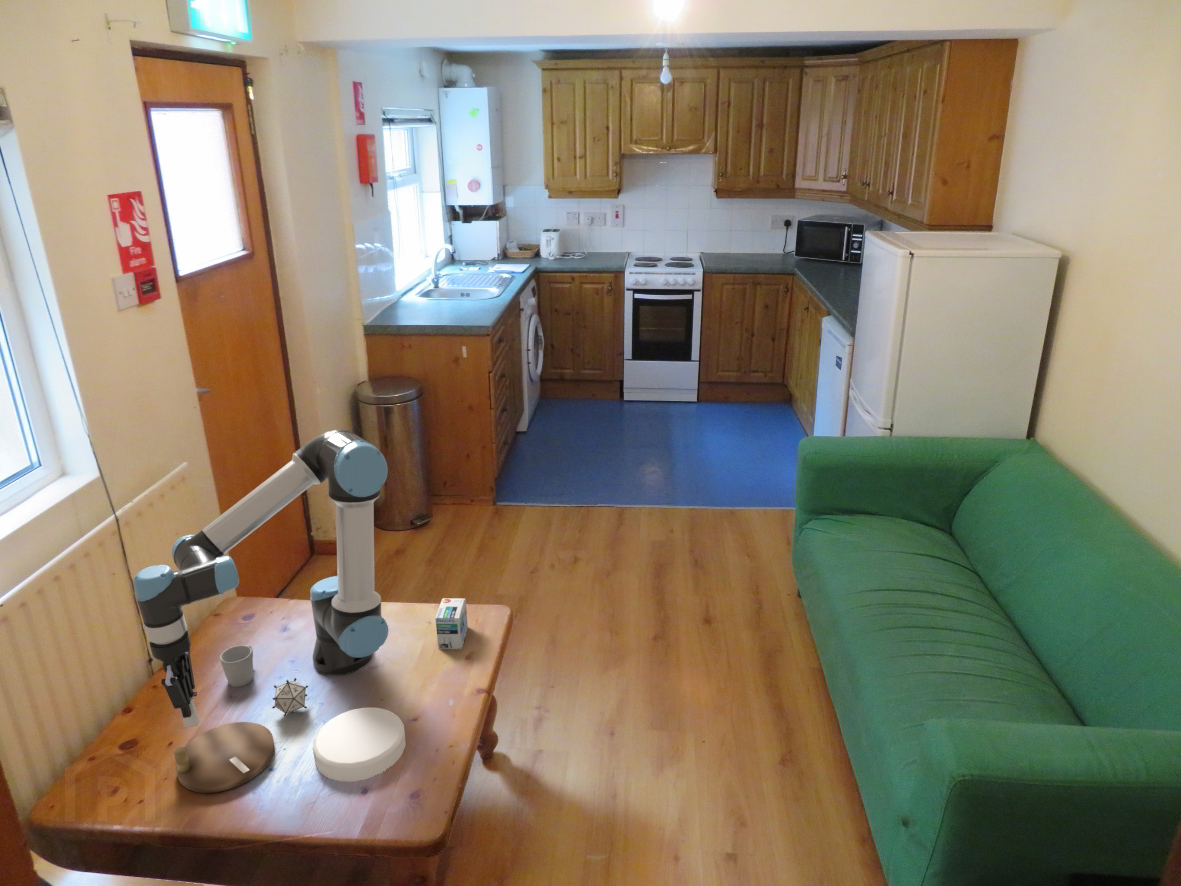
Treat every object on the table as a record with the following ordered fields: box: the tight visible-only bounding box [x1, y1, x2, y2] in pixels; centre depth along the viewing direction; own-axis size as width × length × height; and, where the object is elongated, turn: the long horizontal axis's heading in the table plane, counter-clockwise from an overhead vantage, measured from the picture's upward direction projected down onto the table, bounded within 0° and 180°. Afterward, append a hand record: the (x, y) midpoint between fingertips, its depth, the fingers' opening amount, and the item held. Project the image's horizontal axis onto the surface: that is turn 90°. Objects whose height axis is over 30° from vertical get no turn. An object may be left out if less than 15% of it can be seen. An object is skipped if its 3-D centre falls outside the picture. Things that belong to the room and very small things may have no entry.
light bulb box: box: [434, 597, 469, 650], centre depth 223 cm, size 11×7×11 cm, turn 179°
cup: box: [219, 644, 254, 688], centre depth 209 cm, size 8×10×8 cm
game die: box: [271, 677, 309, 718], centre depth 195 cm, size 9×8×10 cm
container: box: [312, 707, 406, 783], centre depth 184 cm, size 20×20×5 cm
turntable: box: [173, 721, 276, 794], centre depth 181 cm, size 20×20×7 cm
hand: (192, 724), depth 182 cm, fingers closed
